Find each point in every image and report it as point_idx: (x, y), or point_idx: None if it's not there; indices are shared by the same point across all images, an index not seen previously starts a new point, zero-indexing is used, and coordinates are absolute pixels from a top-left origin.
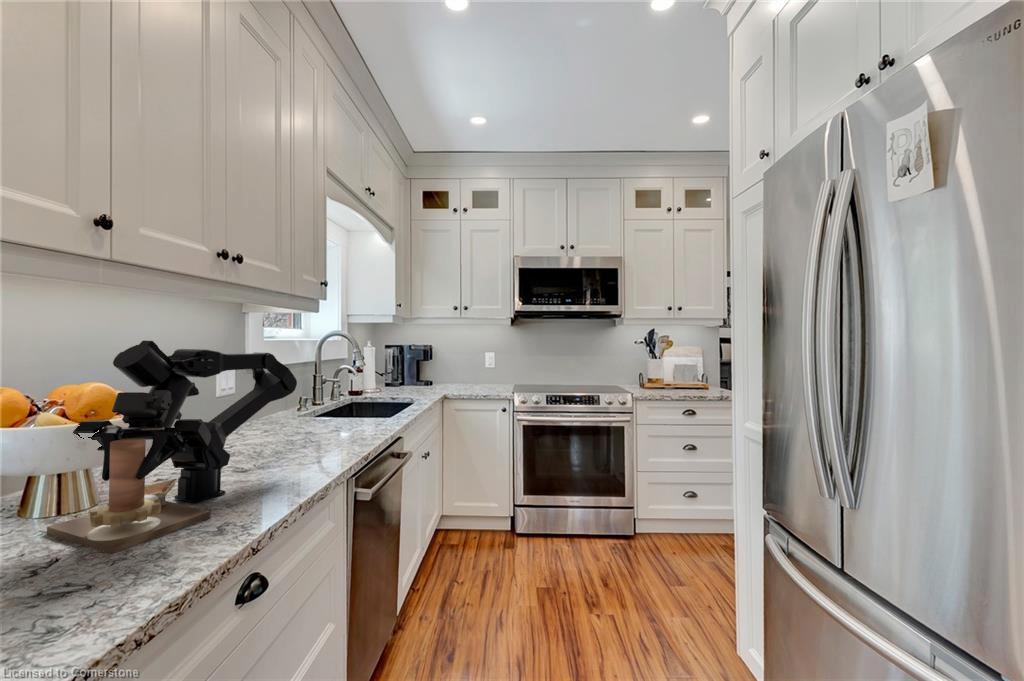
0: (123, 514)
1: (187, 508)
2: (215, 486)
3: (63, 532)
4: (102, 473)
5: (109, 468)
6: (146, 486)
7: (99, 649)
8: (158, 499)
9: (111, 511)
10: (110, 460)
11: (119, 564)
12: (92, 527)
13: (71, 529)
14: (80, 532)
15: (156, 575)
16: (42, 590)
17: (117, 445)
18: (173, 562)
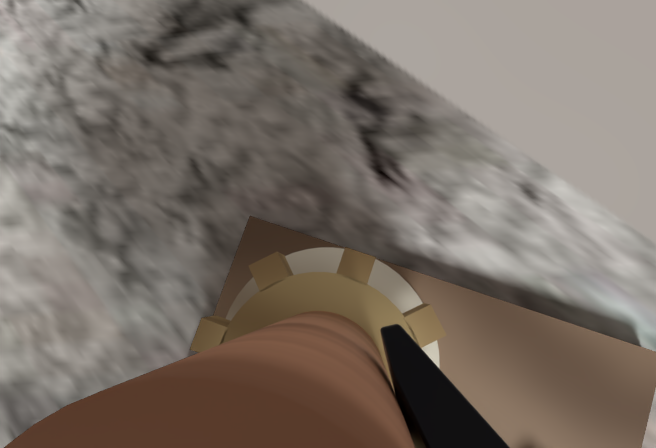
0: (257, 293)
1: None
2: None
3: (538, 313)
4: (414, 342)
5: (399, 395)
6: None
7: None
8: None
9: (332, 312)
10: (335, 355)
11: (173, 165)
12: (466, 359)
13: (529, 334)
14: (464, 310)
15: (27, 121)
16: (250, 31)
17: (166, 377)
18: (31, 190)
